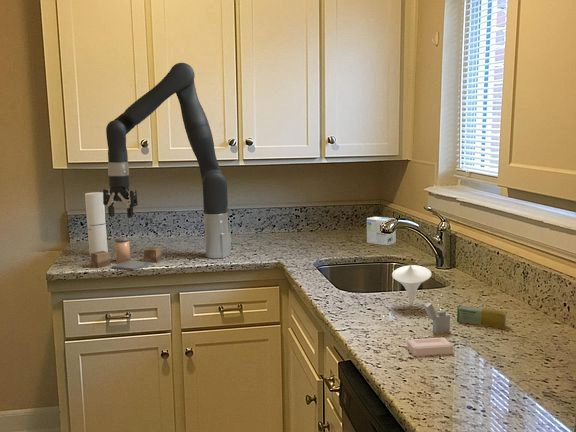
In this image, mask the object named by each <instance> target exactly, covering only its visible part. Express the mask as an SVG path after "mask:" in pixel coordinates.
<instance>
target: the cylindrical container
mask: <svg viewBox="0 0 576 432" xmlns="http://www.w3.org/2000/svg"><path fill="white" fill-rule="evenodd" d="M84 198H85V199H84V200H85V211H86V212H85V214H86V224H87V225H86V227H87V239H88V250H89V251H88V253H89V256H90V257H91V253H94V252H99V251H106V252H109V250H108V249H109V248H108V236H107V223H106V209H105V208H106V207H105V206H106V205H104V204H103V191H102V192H100V191H97V192H95V191H94V192H86V193H84Z"/></svg>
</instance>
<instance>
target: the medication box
mask: <svg viewBox="0 0 576 432" xmlns="http://www.w3.org/2000/svg"><path fill="white" fill-rule="evenodd" d="M456 310H457V311H456V312H457V313H456V317H457V318H456V321H457V322H460V323H466V324H473V325H480V326H486V327H494V328H499V329H505V328H507V327H506V326H507V311H505V310H504V311H503V310H497V309H491V308H484V307H483V308H482V307H476V306H469V305H463V304H459V305H458V306H457V309H456Z"/></svg>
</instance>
